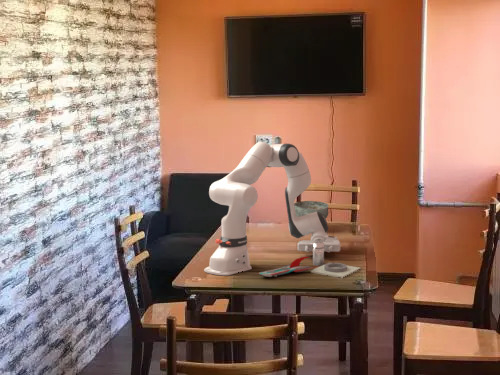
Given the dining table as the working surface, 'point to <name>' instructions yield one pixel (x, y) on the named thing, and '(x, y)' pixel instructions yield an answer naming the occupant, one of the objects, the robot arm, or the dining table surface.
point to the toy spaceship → (287, 268)
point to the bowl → (311, 208)
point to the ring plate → (335, 274)
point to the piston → (318, 253)
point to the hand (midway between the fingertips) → (318, 250)
